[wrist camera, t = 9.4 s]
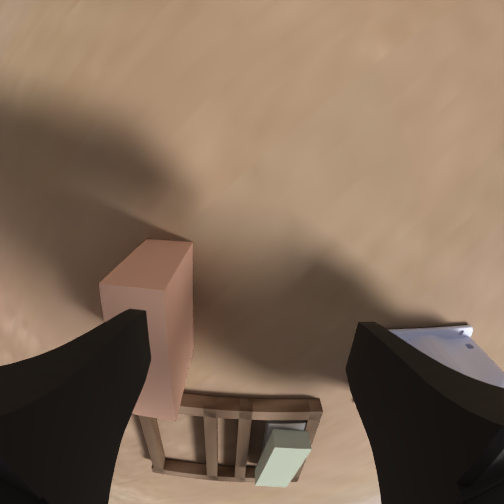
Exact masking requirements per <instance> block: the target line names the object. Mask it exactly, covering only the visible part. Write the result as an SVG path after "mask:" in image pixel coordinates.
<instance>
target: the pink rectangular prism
mask: <svg viewBox="0 0 504 504" xmlns="http://www.w3.org/2000/svg"><path fill="white" fill-rule="evenodd" d="M99 290H100V297H101V304H102V311H103V317H104V322H106V321H108V320H110V319H111V318H113V317H115V316H116V315H118V314H120V313H122V312H123V311H125V310H128V309H138V310H146V314H147V324H148V334H149V343H150V351H151V363H150V366H149V370H148V374H147V377H146V381H145V384H144V386H143V389H142V391H141V393H140V396H139V398H138V400H137V403H136V405H135V407H134V410H133V412H132V414H135V415H140V416H146V417H152V418H158V419H164V420H171V421H176V420H177V416H178V412H179V407H180V403H181V399H182V395H183V391H184V387H185V383H186V379H187V375H188V371H189V367H190V363H191V359H192V355H193V351H194V336H193V242H184V241H168V240H152V239H146V240H145V241H144V242H143V243H142V244H141V245H140V246H138V247H137V248H136V249H135V250H134V251H133V252H132V253H131V254H130V255H129V256H127V257H126V258H125V259H124V260H123V261H122V262H121V263H120V264H119V265H118V266H117V267H116V268H114V269H113V270H112V271H111V272H110V273H109V274H108V275H107V276H106V277H105V278H104V279H103V280H102V281H101V282H100V283H99Z"/></svg>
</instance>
